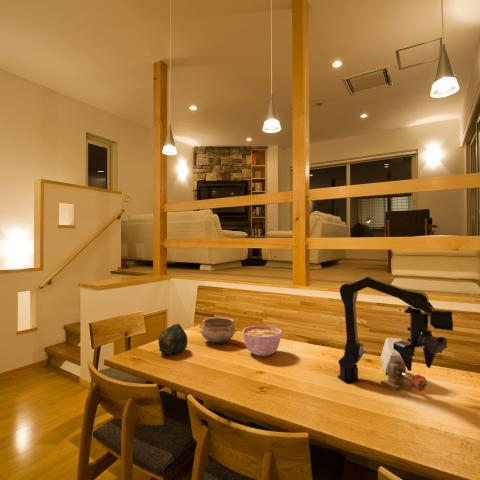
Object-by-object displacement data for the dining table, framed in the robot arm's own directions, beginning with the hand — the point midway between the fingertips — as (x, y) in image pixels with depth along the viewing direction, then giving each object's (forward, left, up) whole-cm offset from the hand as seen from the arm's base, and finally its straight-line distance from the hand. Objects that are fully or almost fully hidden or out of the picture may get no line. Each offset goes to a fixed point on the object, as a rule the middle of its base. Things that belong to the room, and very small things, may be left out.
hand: (419, 369), depth 111 cm
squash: (-81, +74, -11) cm, 110 cm away
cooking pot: (-55, +82, -11) cm, 100 cm away
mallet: (0, +6, -7) cm, 10 cm away
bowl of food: (-38, +58, -11) cm, 70 cm away
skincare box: (+8, +22, -8) cm, 24 cm away
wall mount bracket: (0, +10, -10) cm, 15 cm away
